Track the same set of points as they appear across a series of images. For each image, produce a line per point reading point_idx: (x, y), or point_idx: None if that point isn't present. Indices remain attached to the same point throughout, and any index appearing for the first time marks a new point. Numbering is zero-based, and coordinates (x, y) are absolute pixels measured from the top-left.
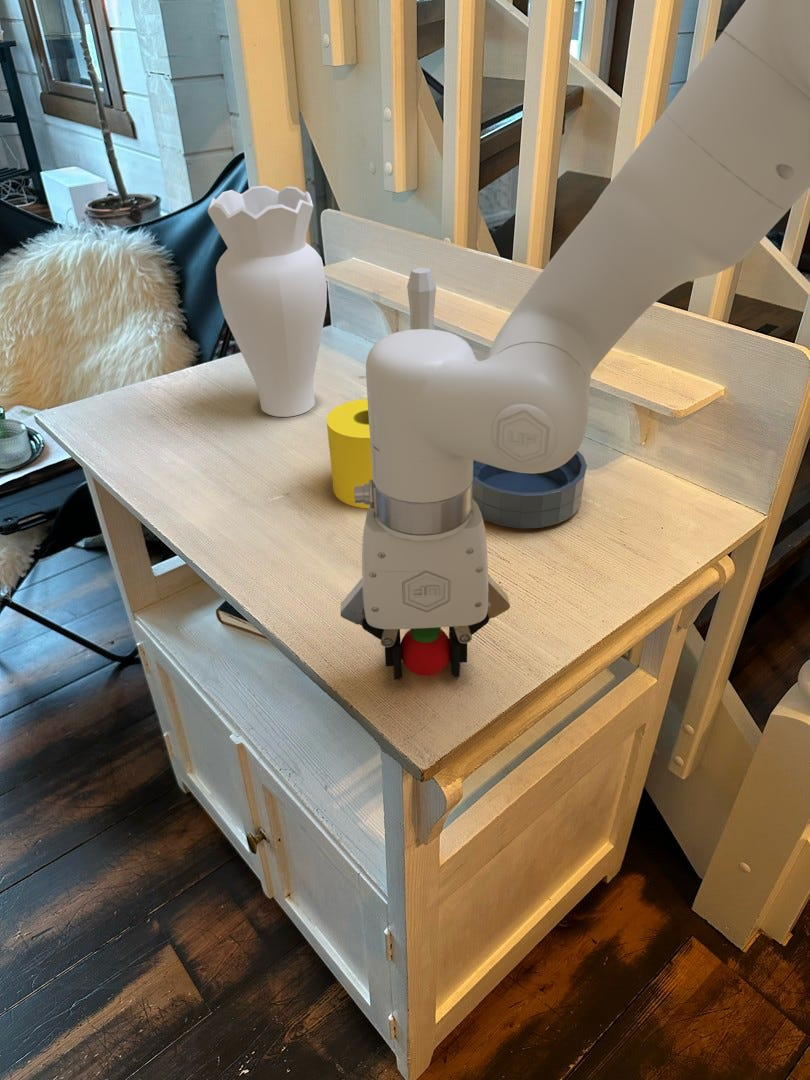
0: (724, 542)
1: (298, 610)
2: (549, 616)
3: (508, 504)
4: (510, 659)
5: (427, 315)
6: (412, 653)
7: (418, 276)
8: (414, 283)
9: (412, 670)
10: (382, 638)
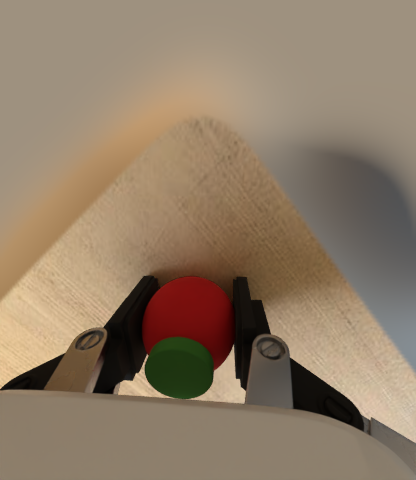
0: None
1: (373, 405)
2: (40, 359)
3: None
4: (79, 300)
5: None
6: (212, 315)
7: None
8: None
9: (215, 285)
10: (287, 360)
